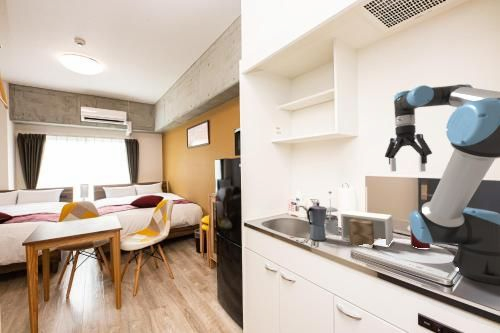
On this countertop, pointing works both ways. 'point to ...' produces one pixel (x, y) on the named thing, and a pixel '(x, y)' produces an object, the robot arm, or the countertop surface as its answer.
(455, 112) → the robot arm
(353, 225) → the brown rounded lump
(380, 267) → the countertop surface
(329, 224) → the french press
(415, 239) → the soda can
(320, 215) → the moka pot
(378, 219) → the white box
